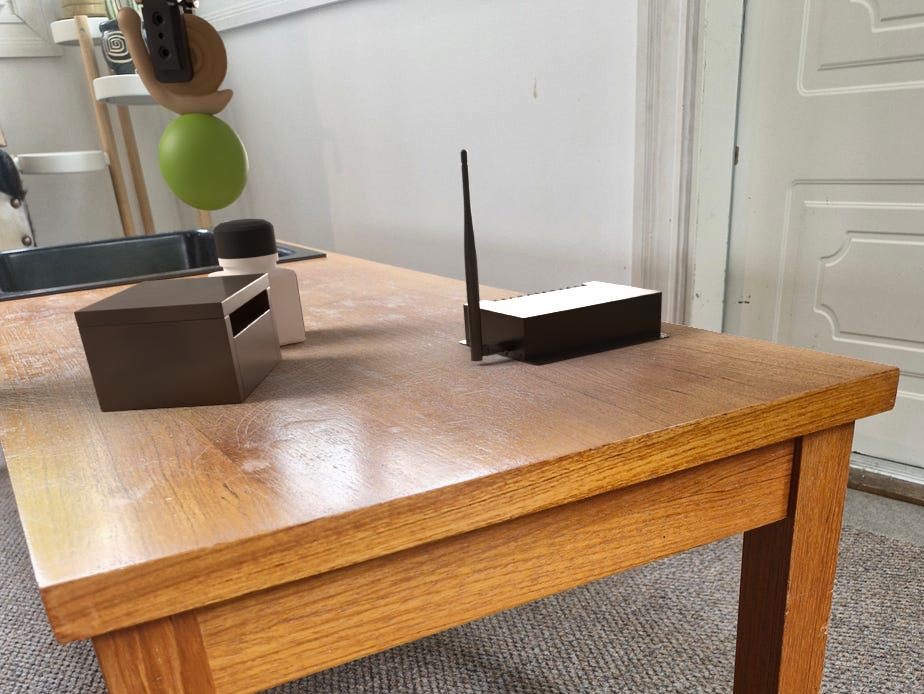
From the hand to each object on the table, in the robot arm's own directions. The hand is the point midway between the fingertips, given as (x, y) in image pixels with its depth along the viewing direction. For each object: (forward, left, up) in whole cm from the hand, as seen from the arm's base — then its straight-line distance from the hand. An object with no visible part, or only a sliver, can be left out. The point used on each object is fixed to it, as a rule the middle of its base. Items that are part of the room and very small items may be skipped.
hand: (181, 81), depth 54 cm
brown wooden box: (-10, +19, -22) cm, 31 cm away
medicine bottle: (-8, +36, -22) cm, 43 cm away
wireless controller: (+22, +27, -22) cm, 41 cm away
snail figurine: (0, 0, -7) cm, 7 cm away
